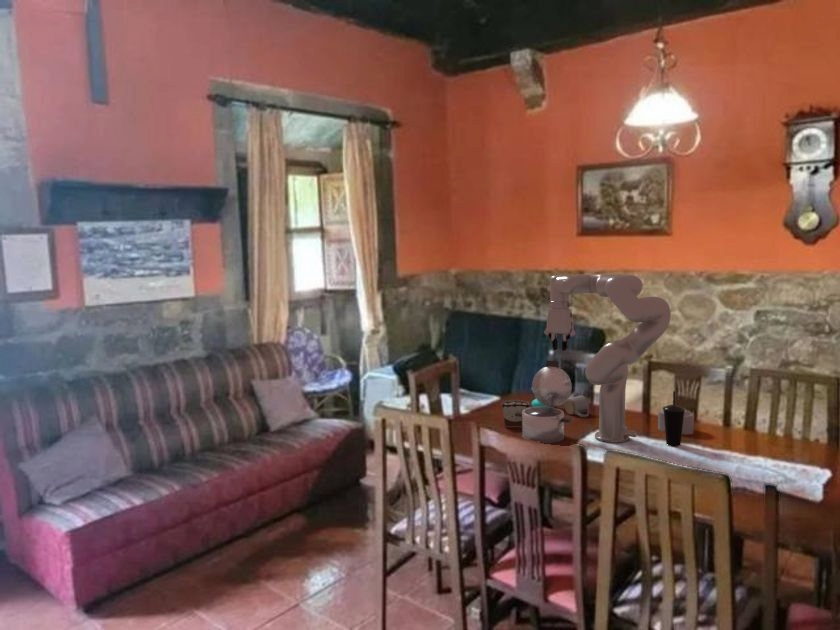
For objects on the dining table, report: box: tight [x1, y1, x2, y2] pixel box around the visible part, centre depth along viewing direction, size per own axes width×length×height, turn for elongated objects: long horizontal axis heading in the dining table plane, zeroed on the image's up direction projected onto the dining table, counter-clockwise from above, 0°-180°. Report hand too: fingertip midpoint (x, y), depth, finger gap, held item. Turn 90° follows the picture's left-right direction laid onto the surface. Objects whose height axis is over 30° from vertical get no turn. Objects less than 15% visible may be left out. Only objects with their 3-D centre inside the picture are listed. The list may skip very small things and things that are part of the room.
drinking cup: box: [662, 390, 686, 447], centre depth 243 cm, size 8×8×20 cm
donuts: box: [531, 389, 549, 407], centre depth 301 cm, size 10×10×10 cm
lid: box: [531, 360, 573, 408], centre depth 264 cm, size 16×18×3 cm
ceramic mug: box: [564, 395, 590, 418], centre depth 287 cm, size 11×8×8 cm
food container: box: [500, 399, 532, 428], centre depth 274 cm, size 12×6×10 cm, turn 84°
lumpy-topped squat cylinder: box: [657, 408, 695, 436], centre depth 261 cm, size 10×13×9 cm
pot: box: [515, 406, 573, 444], centre depth 256 cm, size 22×16×10 cm
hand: (559, 349), depth 270 cm, fingers open, 3 cm apart
